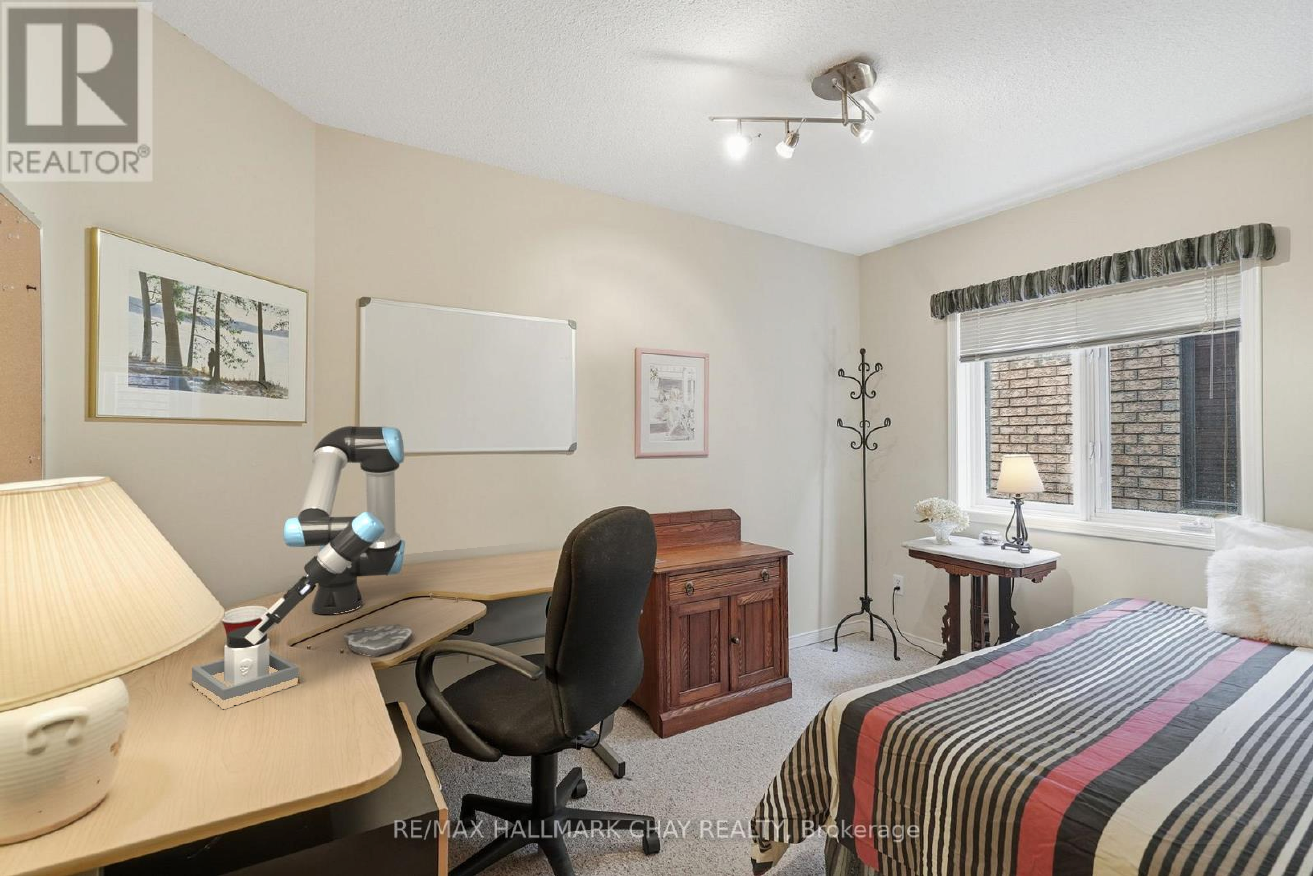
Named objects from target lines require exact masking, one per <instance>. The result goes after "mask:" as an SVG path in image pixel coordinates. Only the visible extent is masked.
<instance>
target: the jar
mask: <svg viewBox="0 0 1313 876" xmlns="http://www.w3.org/2000/svg"><path fill="white" fill-rule="evenodd" d="M255 627H256V626H249V627H243V628H239V629H236V630H233V631H231V632H229V633H228V634H227V636H226V644H225V645H224V649H223V650H224V653H223V654H224V656H223V657H224V658H223V659H224V681H226V682H230V683H231V684H233V685H235V684H238V683H241V682H245V681H248V680H251V679H254V678H258V677H261V676H264V675H267V674H269V650H270V639H269V638H268V633H266V634H265V635H264V636H263V637H262V638H261V639H260V640H259V641H258V642H257V643H256V644H255V645H254V644H253V643H251V642H250V641H248V640H247V639H246V638H245V636H247V635H248V634H249V633H250V632H251V631H252V630H253V629H254V628H255Z"/></svg>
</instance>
